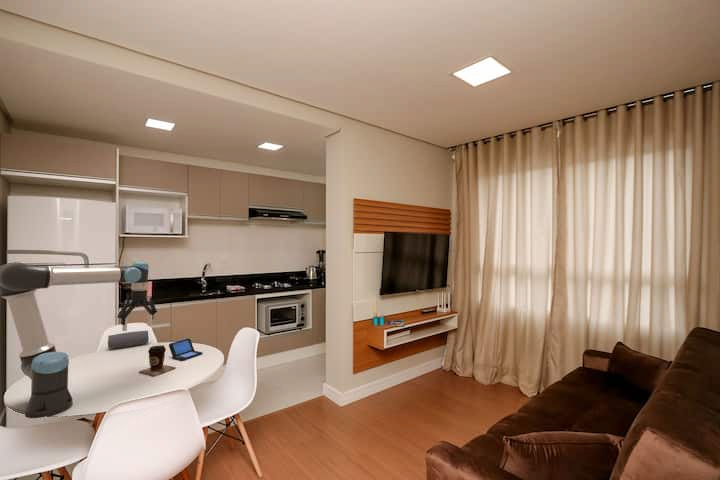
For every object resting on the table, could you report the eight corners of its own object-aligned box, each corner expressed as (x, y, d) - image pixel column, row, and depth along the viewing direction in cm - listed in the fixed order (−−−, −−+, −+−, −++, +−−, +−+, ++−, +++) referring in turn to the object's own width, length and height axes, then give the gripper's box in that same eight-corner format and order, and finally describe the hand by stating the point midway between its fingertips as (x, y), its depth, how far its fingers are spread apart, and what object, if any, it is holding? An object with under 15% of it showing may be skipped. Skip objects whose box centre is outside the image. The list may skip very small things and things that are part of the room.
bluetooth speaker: (146, 342, 243) (146, 328, 243) (148, 345, 236) (148, 331, 236) (107, 348, 228) (108, 333, 228) (108, 351, 221) (108, 336, 221)
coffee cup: (156, 373, 183) (157, 349, 183) (143, 372, 185) (144, 348, 185) (168, 367, 192) (169, 345, 192) (156, 366, 193) (156, 344, 193)
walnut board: (154, 376, 180) (154, 375, 180) (138, 372, 185) (138, 371, 185) (175, 368, 192) (175, 367, 192) (160, 365, 197) (160, 363, 197)
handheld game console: (182, 361, 204) (182, 346, 204) (167, 358, 210) (167, 343, 210) (203, 354, 218) (203, 340, 219) (189, 351, 224) (189, 337, 224)
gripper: (119, 292, 172) (117, 333, 171) (165, 288, 194) (163, 324, 194) (110, 291, 175) (108, 332, 174) (156, 287, 198) (154, 323, 197)
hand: (137, 328), depth 184 cm, fingers open, 13 cm apart
